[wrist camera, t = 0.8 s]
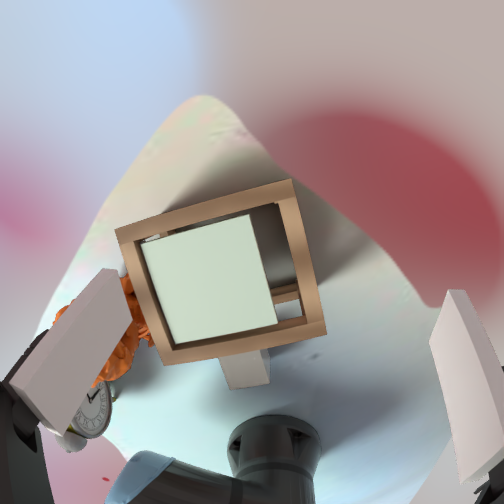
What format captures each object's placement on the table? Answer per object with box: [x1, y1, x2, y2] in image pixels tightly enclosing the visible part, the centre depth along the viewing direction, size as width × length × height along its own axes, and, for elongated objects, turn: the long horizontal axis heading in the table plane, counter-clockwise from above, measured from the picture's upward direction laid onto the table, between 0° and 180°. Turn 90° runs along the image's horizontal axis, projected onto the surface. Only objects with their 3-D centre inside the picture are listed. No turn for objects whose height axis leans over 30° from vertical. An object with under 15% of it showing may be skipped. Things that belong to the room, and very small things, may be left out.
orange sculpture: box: [53, 273, 155, 388], centre depth 34 cm, size 11×11×18 cm
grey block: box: [218, 348, 270, 390], centre depth 40 cm, size 5×5×6 cm
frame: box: [115, 179, 327, 366], centre depth 34 cm, size 14×16×12 cm
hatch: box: [139, 213, 278, 345], centre depth 29 cm, size 10×10×1 cm
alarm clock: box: [55, 380, 116, 453], centre depth 39 cm, size 12×7×15 cm, turn 9°
